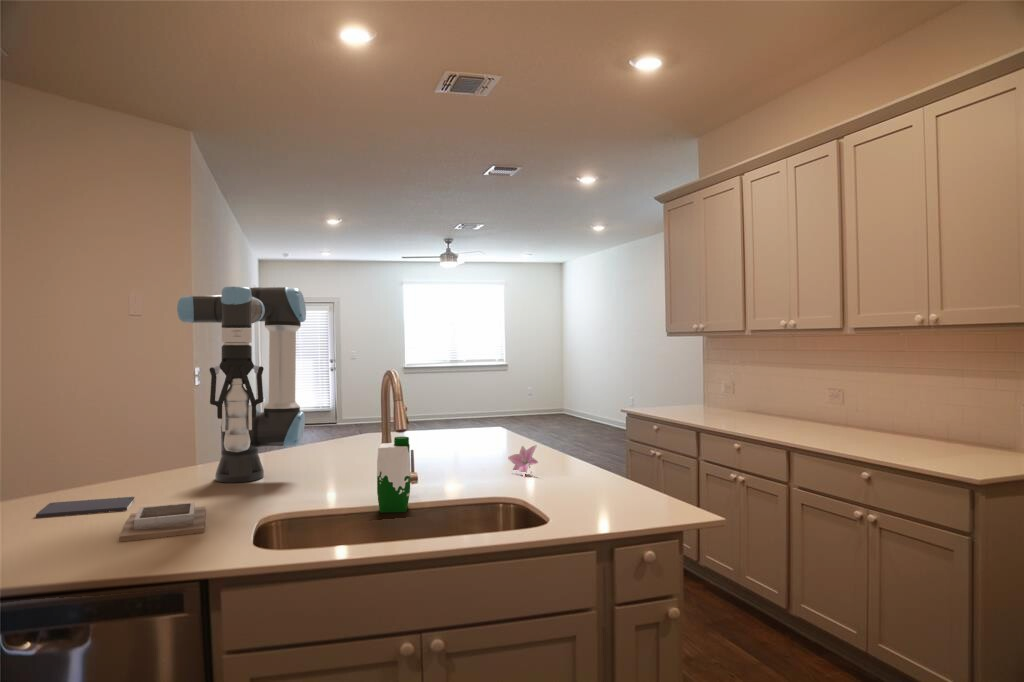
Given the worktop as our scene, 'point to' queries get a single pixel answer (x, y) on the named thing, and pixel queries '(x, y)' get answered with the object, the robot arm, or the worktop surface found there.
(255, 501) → the worktop surface
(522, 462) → the lily
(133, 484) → the worktop surface
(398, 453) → the milk carton
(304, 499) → the worktop surface
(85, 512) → the notebook
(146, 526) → the bottle stand
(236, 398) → the plastic bottle
